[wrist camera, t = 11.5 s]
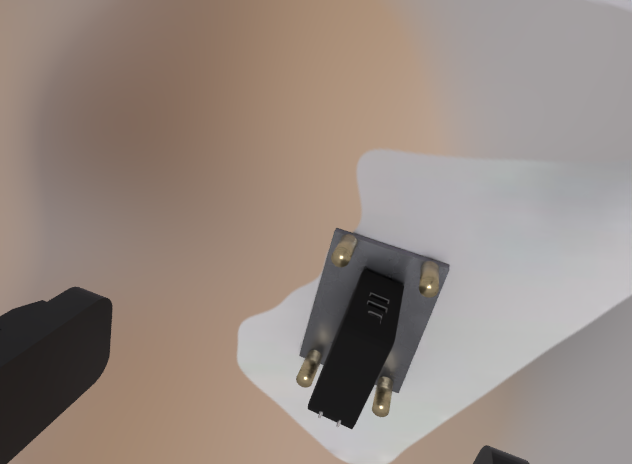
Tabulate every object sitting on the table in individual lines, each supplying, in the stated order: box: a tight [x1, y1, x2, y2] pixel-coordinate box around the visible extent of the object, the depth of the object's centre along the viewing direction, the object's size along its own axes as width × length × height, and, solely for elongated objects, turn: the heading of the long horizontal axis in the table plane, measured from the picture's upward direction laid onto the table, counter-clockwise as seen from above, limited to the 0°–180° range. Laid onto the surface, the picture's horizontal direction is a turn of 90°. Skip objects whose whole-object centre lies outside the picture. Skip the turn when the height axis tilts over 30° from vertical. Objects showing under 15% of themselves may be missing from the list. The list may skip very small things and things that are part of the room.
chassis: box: [296, 228, 449, 417], centre depth 43 cm, size 15×11×5 cm
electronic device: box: [308, 269, 404, 429], centre depth 40 cm, size 4×10×10 cm, turn 161°
